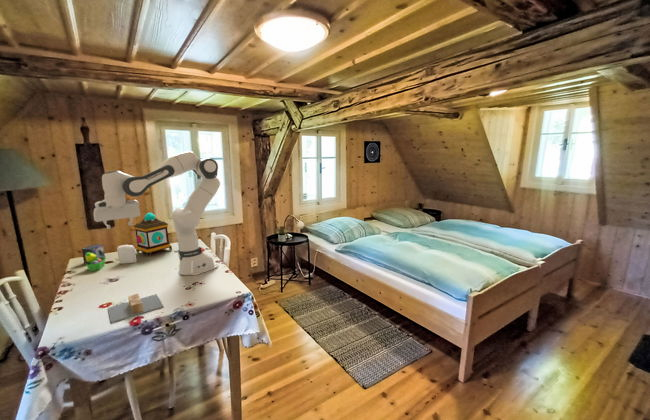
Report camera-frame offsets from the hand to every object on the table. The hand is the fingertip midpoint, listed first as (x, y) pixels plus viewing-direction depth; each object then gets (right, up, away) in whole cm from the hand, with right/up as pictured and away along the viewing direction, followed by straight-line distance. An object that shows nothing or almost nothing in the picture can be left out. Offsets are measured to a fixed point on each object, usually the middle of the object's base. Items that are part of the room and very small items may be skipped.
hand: (119, 227), depth 155 cm
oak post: (+26, -35, -25) cm, 51 cm away
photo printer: (-23, -27, +40) cm, 53 cm away
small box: (-48, -26, +44) cm, 71 cm away
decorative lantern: (-17, -22, +61) cm, 67 cm away
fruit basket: (-37, -29, +31) cm, 56 cm away
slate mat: (+22, -37, -20) cm, 47 cm away
